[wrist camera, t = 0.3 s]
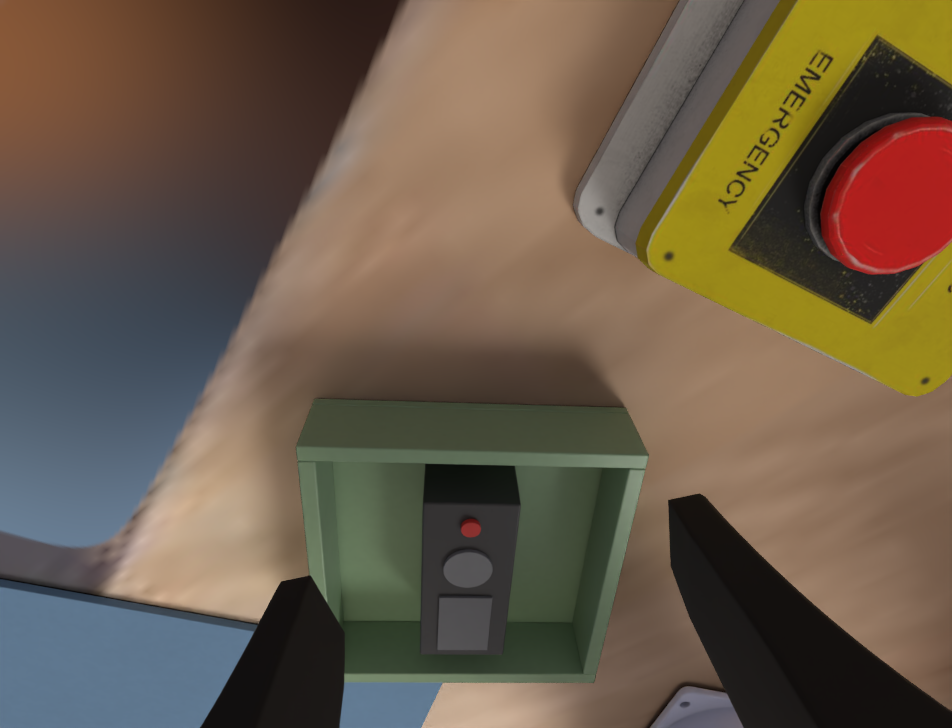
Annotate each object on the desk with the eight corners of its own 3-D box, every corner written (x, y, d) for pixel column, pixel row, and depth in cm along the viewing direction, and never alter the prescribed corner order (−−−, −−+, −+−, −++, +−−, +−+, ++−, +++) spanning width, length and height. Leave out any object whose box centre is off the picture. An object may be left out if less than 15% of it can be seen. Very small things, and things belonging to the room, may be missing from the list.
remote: (498, 599, 27) (503, 660, 24) (422, 598, 26) (419, 660, 24) (514, 455, 23) (522, 509, 20) (425, 453, 23) (422, 507, 20)
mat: (381, 805, 35) (380, 812, 35) (-26, 752, 31) (-31, 760, 31) (450, 658, 29) (450, 666, 29) (-45, 570, 25) (-52, 577, 25)
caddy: (581, 623, 28) (594, 683, 26) (332, 621, 27) (320, 682, 25) (626, 407, 22) (650, 455, 20) (314, 397, 22) (295, 446, 19)
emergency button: (841, -167, 11) (1295, 181, 15) (741, -112, 15) (1120, 153, 19) (589, 260, 15) (997, 455, 19) (561, 216, 19) (903, 385, 22)
